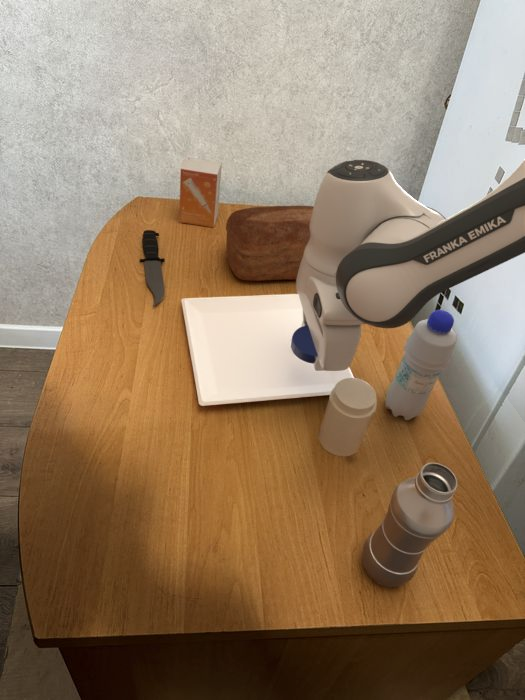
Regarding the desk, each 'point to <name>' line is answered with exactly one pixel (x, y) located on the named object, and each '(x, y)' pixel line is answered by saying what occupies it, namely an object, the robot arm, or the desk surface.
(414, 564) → the silver ringed container
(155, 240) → the knife
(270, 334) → the plate
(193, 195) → the small box
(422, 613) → the desk surface
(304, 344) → the lid
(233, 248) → the bread
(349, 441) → the jar
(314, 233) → the robot arm
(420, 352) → the bottle
